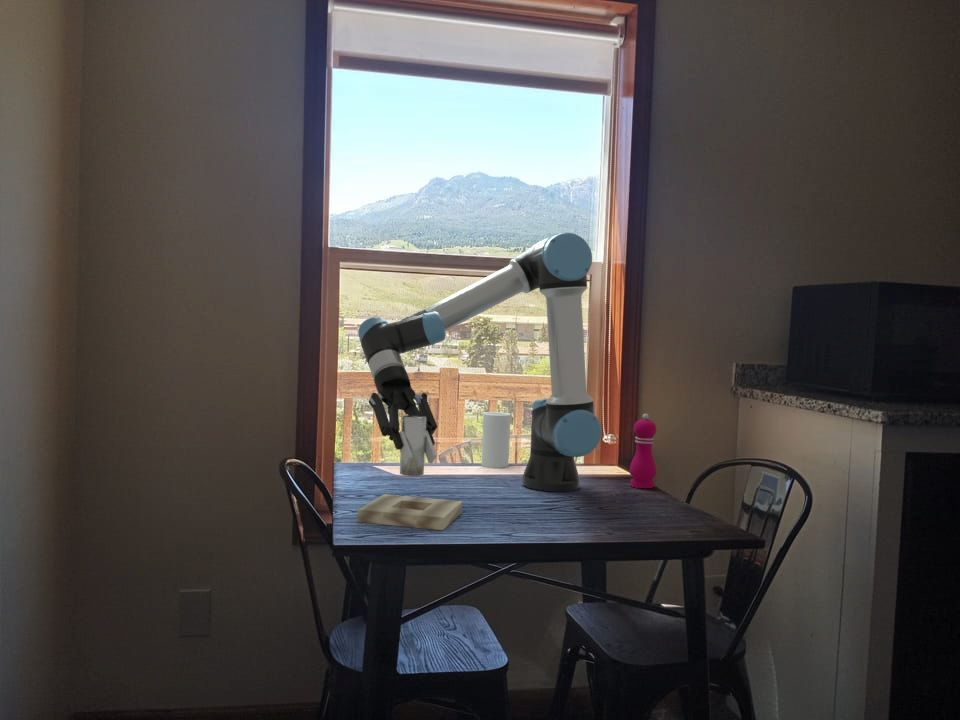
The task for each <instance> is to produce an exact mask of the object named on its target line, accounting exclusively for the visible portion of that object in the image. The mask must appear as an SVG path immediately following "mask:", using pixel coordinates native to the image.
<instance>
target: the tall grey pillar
mask: <svg viewBox="0 0 960 720" xmlns="http://www.w3.org/2000/svg"><path fill="white" fill-rule="evenodd" d="M401 419H402V422H401V423H402V424H401V431H403V432H404V434H405V437H406V439H407V442H408V445H409V448H410V450H411V453H412V456H413V457H412V459H411V460H410V462H409V464H407V465H405V464H404V461H403V458H402V455H401V454H400V463H399V474H400V475H402V476H408V477H417V476H424V475H425V472H424V471H425V456H426V454H425V437H426V417H425V416H417V415H408V414H405V415H402V418H401Z"/></svg>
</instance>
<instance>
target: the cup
mask: <svg viewBox="0 0 960 720" xmlns="http://www.w3.org/2000/svg"><path fill="white" fill-rule="evenodd" d="M511 415H512V414H511V413H509V412H500V411H484V412H483V418H482V419H483V420H482V440H481V441H482V442H481V443H482V445H481V466H482V467H484V468H491V469H504V468H509V464H510V462H509V457H510V437H511V436H510V435H511V418H512V417H511Z"/></svg>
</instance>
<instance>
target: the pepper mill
mask: <svg viewBox="0 0 960 720" xmlns="http://www.w3.org/2000/svg"><path fill="white" fill-rule="evenodd" d="M641 418H642V419H639V420H637V421H636V422H634V425H633V433H634V434H635V435H636V436H635V437H634V438H635V440H634V442H635V444H636V450H635V454H634V456H633V458H632V461H631V462H630V466H629V474H630V476H631V477H632V478H631V479H630V487H631V486H632V487H631V488H633V487H635V488H634V489H637V488H645V489H644V490H647V489H646V488H653V487H654V488H655V481H654V480H653V479H654V478H655V477H656V476H657V473H658V472H657V470H658V469H657V464H656V462H655V460H654V456H653V450H652V449H653V444H654V443H655V438H654V436H655V435H656V433H657V425H656V423H655V422H654V421H652V420H651V419H649V418H650V416H649V414H648V413H643V414H642V417H641ZM654 488H653V489H654Z"/></svg>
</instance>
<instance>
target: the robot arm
mask: <svg viewBox="0 0 960 720" xmlns="http://www.w3.org/2000/svg"><path fill="white" fill-rule="evenodd" d="M592 263H593V254H592V249H591V248H590V245H589V243H588V242H587V241H586V240H585V239H584V237H583V238H582V237H581V236H580V235H578V234H576V233H572V232H560V233H554V234H552V235H550V236H549V237H547V238H545V239H542V240H540V241H538V242H537V243H535V244H533V245H532V246H531V247H530V248H529V249H527V250H526V251H524V252H522V253H521V254H520V255H518V256H515V258H512V259H510V261H509V264H508V265H507V266H505V267H504V268H502V269H499V270H497V271H495V272H493V273H491V274H489V275H488V276H486V277H483V278H481V279H480V280H478V281H475V282H474V283H472V284H470V285H469V286H467V287H464V288H462V289H459V291H456V292H454V293H452V294H451V295H449V296H447V297H445V298H443V299H441V300H439V301H437V302H435V303H432V304H431V305H429V306H428V307H425V308H424V309H422V310H420V311H418V312H415V313H414V314H412V315H410V316H407V317H405V318H402V319H401V320H398V321H395V322H390V323H389V322H388V320H386V319H385V318H383V317H380V316H378V317H376V316H373V317H369V318H367V319H366V320H364V321H362V323H361V324H360V325H359V326H358V327H359V328H358V330H357V335H358V338H359V341H360V346H361V349H362V351H363V353H364V357H365V359H366V363H367V364H368V367H369V370H370V373H371V376H372V378H373V381H374V386H375V388H376V391H377V393H378V394H377V393H376V392H372V393H371V396H370V397H369V400H368V404H369V405H370V407H371V408H372V409H373V412H374V415H375V417H376V418H375V419H376V422H377V424H378V428H379V430H380V433H381V436H383V437H387V436H389V437H388V439H389V440H390V441H393V444H394V448H395V449H396V450H399V452H400V456H401V455H402V458H403V461H404V464H405V465H407V464H409V462H410V460H411V459H412V457H413V456H412V453H411V450H410V448H409V445H408V442H407V439H406V437H405V434H404V432H403V431H402V430H401V431H400V417H399V410H402V411H403V412H404V413H405V414H404V415H417V416H425V417H426V437H425V456H426V459H427V461H428V462H427V463H428V464H433V462H434V461H435V459H436V458H437V457H438V454H437V451H436V450H435V444H436V442H435V439H434V437H433V435H434V434H435V432H436V430H437V428H438V424H437V422H436V419H435V417H434V414H433V412H432V409H431V407H430V404H429V402H428V395H427V393H426V392H423V393H421V394H419V393H416V392H415V390H414V389H413V388H412V386H411V384H412V383H411V380H410V378H409V375H408V372H407V370H406V366H405V364H404V362H403V359H402V357H401V354H404V353H407V352H412V351H415V350H418V349H421V348H426V347H429V346H434V345H436V344H439V343H441V342H443V341H445V339H446V332H447V331H449V330H451V329H452V328H454V327H457V326H458V325H461V324H462V323H465V322H467V321H468V320H470V319H472V318H474V317H477V316H478V315H480V314H482V313H484V312H486V311H488V310H490V309H492V308H494V307H495V306H498V305H499V304H501V303H503V302H504V301H507V300H508V299H511V298H512V297H515V296H517V295H518V294H520V293H523V294H529V293H531V292H533V291H534V290H537V289H539V292H540V293H541V294H542V295H543V297H544V298H545V299H546V300H545V302H546V304H545V305H546V319H547V322H546V323H547V335H548V356H549V372H550V389H551V391H550V392H551V395H550V396H549V397H548V398H547V399H545V398H544V399H543V398H542V399H541V398H540V399H537V400H534V401H533V403H532V409H531V411H530V412H531V414H530V415H531V426H530V428H531V431H530V450H529V451H530V453H529V458H528V461H527V464H526V466H525V469H524V472H523V474H522V480H521V481H522V482H521V483H522V484H523V485H524V487H525V486H526V488H528V489H531V488H532V490H536V489H537V490H538V491H543V490H544V491H545V492H573V491H576V490H579V488H580V481H581V480H580V476H579V472H578V469H577V464H576V460H575V458H579V457H585V456H587V455H589V454H590V453H592V452H593V451H594V450H595V448H597V447H598V445H599V443H600V440H601V438H602V426H601V422H600V421H599V418H597V416H596V415H595V407H594V399H593V397H592V396H590V395H589V394H588V392H587V375H586V357H585V355H586V354H585V341H584V340H585V339H584V337H585V336H584V325H583V324H584V322H583V318H584V317H583V306H582V305H583V302H582V295H583V293H585V292H586V290H587V289H588V275H587V274H588V273H589V271H590V269H591V267H592ZM384 404H385V405H386V406H387V411H386V408H385V405H384ZM387 414H388V415H387ZM522 484H521V485H522ZM523 485H522V486H523ZM537 490H536V491H537Z"/></svg>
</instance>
